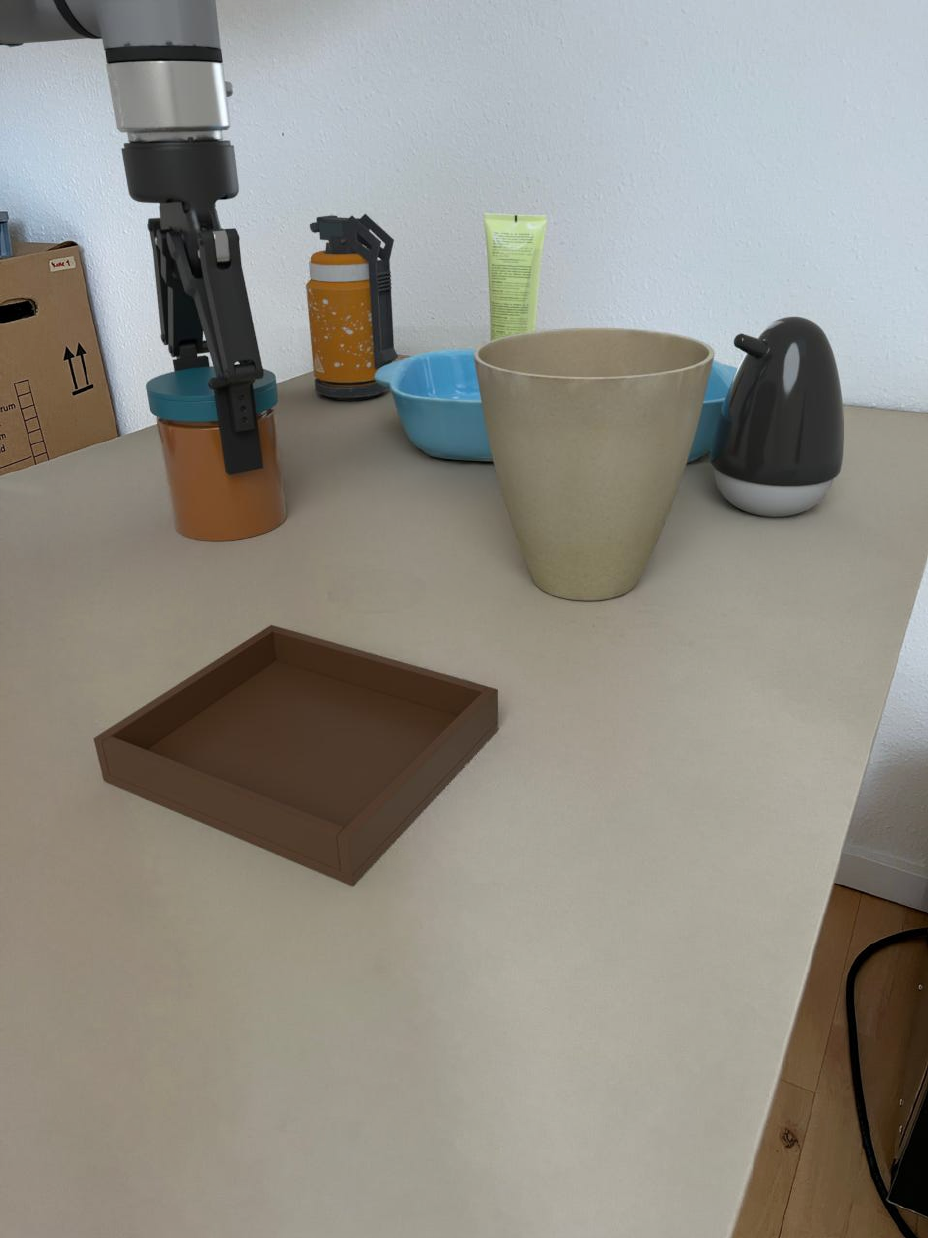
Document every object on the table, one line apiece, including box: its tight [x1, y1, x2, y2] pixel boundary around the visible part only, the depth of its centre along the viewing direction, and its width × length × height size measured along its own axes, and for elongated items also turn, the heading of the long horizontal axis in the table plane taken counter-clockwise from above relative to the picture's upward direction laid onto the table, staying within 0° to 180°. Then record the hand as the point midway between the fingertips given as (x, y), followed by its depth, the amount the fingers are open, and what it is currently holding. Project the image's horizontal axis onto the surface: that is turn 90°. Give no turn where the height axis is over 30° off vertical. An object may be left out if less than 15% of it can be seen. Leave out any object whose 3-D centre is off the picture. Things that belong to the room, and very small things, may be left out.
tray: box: [93, 624, 499, 887], centre depth 48 cm, size 15×13×3 cm
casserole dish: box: [374, 348, 738, 464], centre depth 93 cm, size 37×22×7 cm, turn 86°
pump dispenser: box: [709, 316, 845, 518], centre depth 74 cm, size 10×10×15 cm
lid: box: [145, 365, 279, 422], centre depth 72 cm, size 10×10×2 cm
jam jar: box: [155, 406, 287, 542], centre depth 75 cm, size 9×9×11 cm
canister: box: [305, 213, 399, 401], centre depth 108 cm, size 9×11×20 cm
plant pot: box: [474, 327, 716, 602], centre depth 63 cm, size 15×15×16 cm
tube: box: [483, 212, 548, 341], centre depth 110 cm, size 6×5×20 cm
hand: (222, 452), depth 75 cm, fingers closed on lid, 10 cm apart
